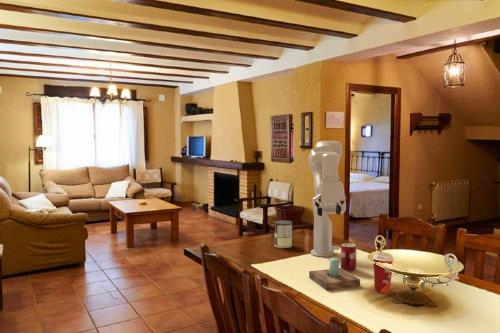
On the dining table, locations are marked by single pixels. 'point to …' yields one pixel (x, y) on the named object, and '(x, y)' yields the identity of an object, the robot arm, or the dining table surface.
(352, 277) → the socket board
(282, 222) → the coffee can
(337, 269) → the peg
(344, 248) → the soda can
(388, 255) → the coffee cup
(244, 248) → the dining table surface
